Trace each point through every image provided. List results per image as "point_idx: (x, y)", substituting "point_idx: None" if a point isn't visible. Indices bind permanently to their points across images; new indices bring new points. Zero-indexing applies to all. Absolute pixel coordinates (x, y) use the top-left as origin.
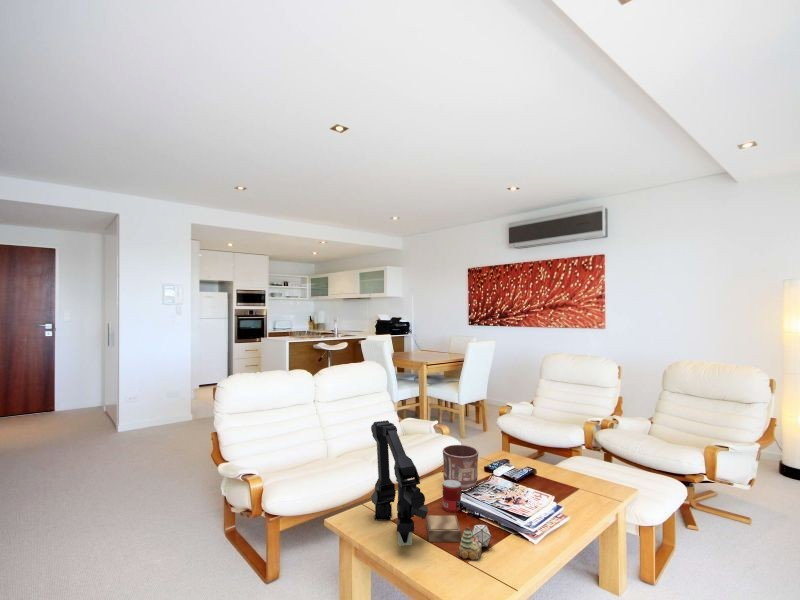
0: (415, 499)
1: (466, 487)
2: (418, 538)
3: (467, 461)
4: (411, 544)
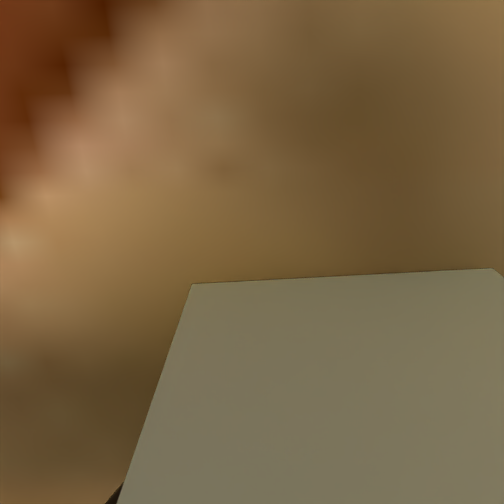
0: None
1: None
2: (189, 117)
3: None
4: (500, 282)
